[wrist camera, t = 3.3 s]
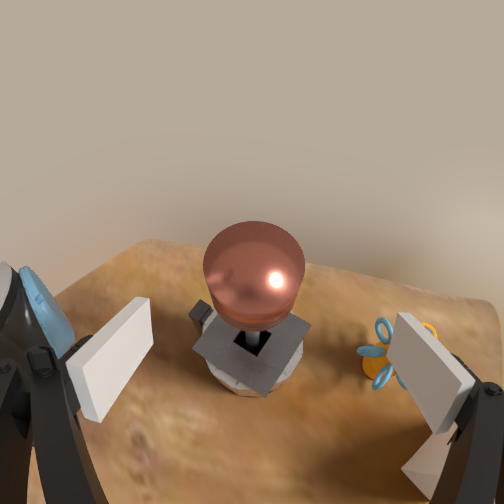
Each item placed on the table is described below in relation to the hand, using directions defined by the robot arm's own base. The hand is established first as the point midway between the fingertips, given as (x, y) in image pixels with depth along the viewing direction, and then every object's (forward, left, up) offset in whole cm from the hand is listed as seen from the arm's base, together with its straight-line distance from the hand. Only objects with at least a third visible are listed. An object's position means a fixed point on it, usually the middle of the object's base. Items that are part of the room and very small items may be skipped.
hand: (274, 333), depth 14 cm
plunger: (-3, +3, -22) cm, 22 cm away
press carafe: (-4, +3, -31) cm, 31 cm away
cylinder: (+15, +13, -31) cm, 37 cm away
